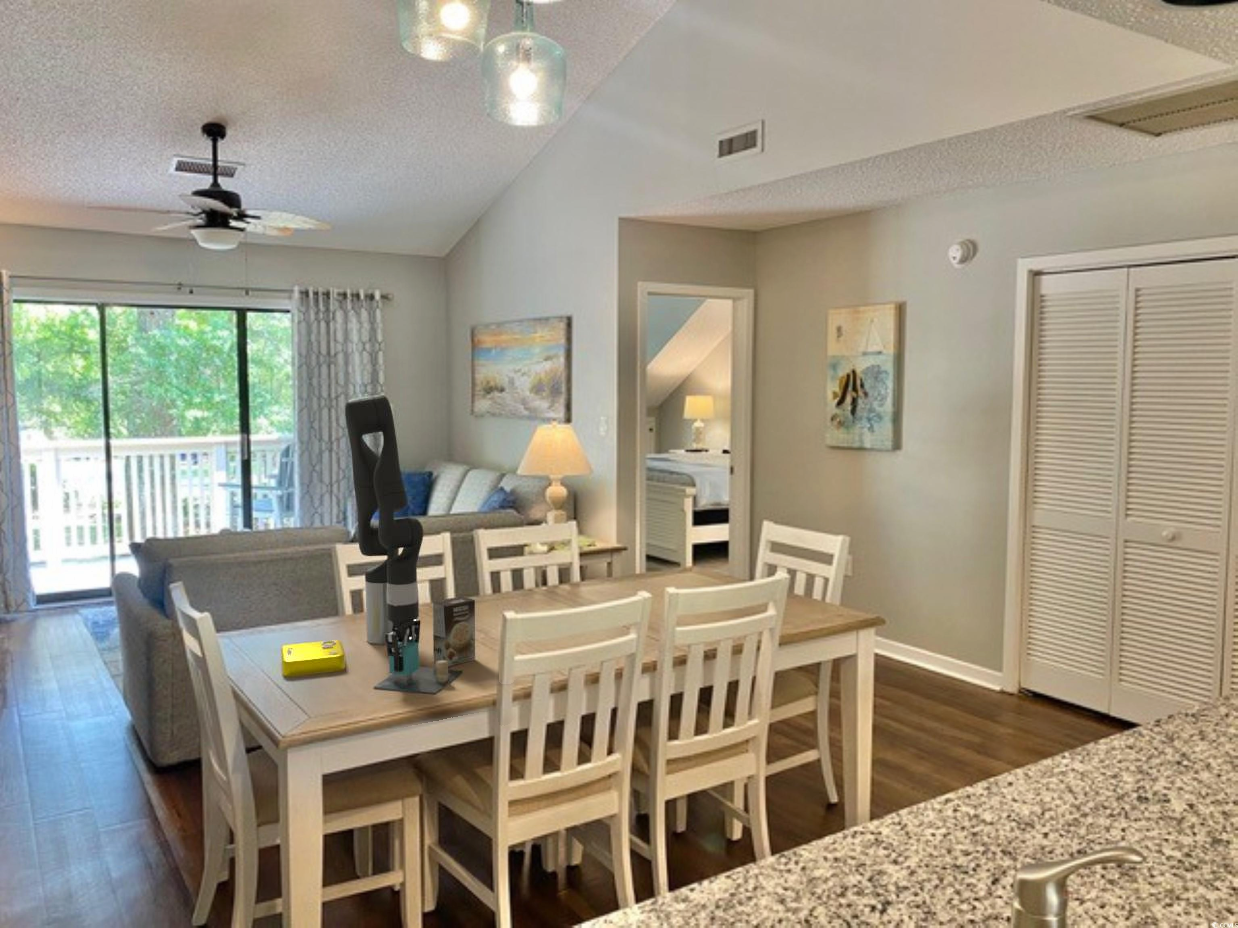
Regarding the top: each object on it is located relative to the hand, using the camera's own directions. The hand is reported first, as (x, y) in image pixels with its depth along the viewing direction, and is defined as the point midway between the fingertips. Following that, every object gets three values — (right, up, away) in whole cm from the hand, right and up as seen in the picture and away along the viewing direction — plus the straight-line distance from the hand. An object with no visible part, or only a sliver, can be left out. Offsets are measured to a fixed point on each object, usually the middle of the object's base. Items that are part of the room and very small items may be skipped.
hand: (404, 667), depth 224 cm
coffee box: (+10, -2, +14) cm, 17 cm away
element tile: (-26, -3, +11) cm, 29 cm away
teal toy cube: (0, -1, 0) cm, 1 cm away
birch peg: (+10, -3, -2) cm, 10 cm away
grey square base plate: (+4, -3, -1) cm, 5 cm away
